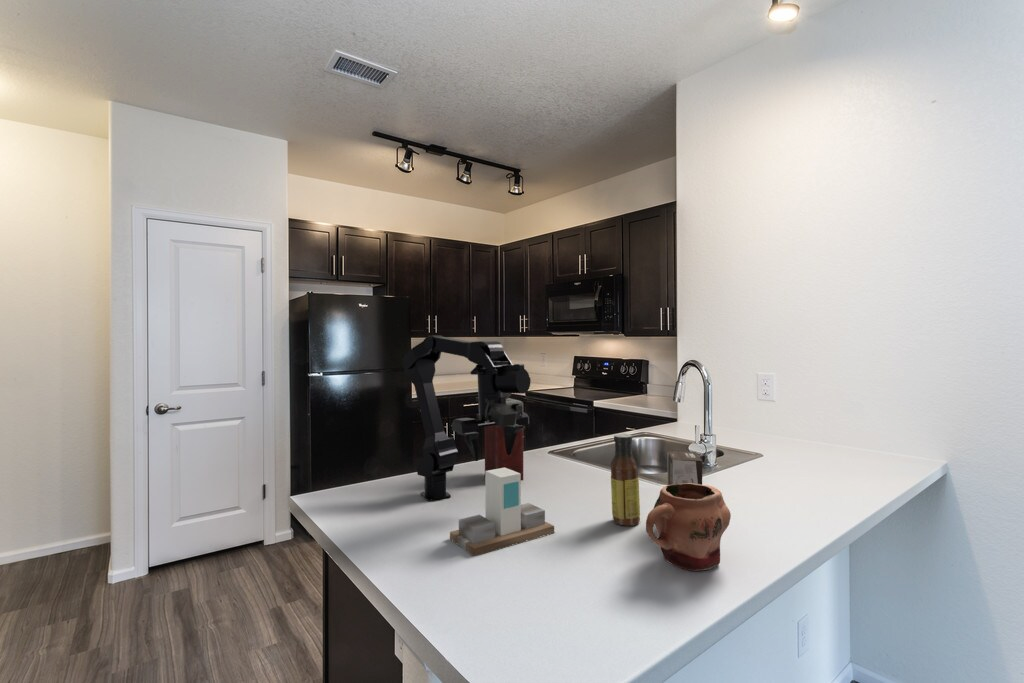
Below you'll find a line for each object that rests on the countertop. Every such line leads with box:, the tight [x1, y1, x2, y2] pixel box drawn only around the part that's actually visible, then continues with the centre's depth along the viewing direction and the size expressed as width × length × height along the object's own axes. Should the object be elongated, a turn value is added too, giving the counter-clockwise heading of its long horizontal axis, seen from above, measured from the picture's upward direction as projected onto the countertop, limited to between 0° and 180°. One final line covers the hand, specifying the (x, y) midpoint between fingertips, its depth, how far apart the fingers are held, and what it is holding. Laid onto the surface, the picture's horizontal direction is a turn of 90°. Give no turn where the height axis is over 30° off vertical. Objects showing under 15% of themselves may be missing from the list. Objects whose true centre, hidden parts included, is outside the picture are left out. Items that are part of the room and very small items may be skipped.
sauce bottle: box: [610, 433, 641, 527], centre depth 113 cm, size 6×6×20 cm
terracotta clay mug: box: [645, 483, 732, 572], centre depth 92 cm, size 20×12×14 cm, turn 125°
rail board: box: [449, 502, 555, 557], centre depth 105 cm, size 10×20×4 cm, turn 125°
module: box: [484, 468, 522, 536], centre depth 105 cm, size 6×5×12 cm
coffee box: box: [666, 450, 703, 485], centre depth 110 cm, size 9×6×16 cm
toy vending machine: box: [484, 393, 524, 481], centre depth 150 cm, size 9×11×28 cm
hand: (492, 457), depth 119 cm, fingers open, 9 cm apart
